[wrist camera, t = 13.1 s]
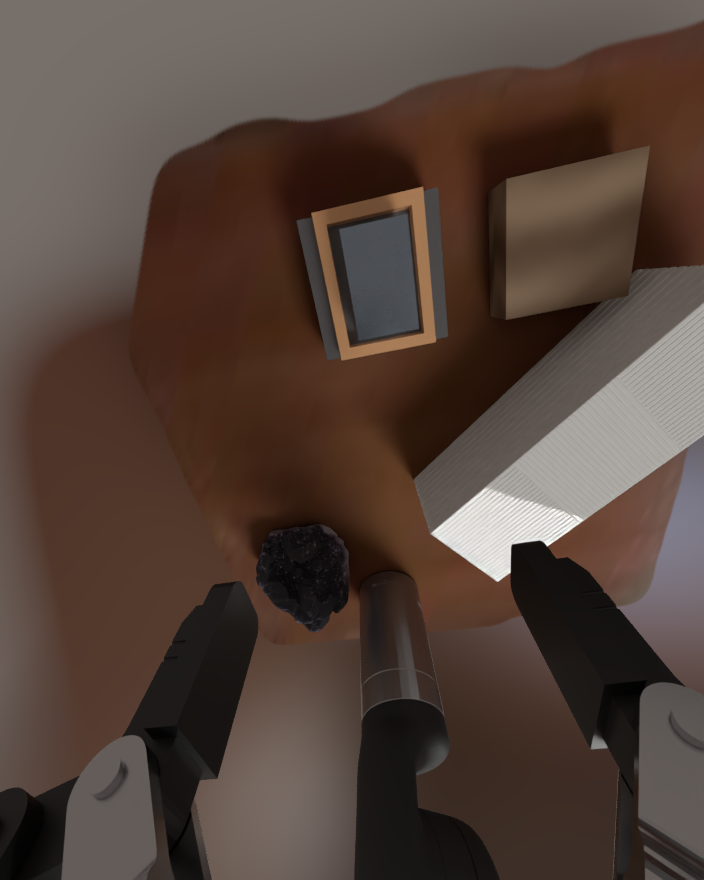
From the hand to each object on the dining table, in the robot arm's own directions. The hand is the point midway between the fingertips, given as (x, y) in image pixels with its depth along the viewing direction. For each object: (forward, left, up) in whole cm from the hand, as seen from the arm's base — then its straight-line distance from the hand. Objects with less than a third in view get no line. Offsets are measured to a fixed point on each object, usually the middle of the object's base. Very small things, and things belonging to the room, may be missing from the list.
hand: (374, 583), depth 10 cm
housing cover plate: (+8, -3, -23) cm, 25 cm away
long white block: (-10, -20, -31) cm, 38 cm away
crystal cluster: (-26, +13, -30) cm, 42 cm away
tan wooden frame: (+8, -3, -30) cm, 31 cm away
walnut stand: (+8, -20, -30) cm, 37 cm away
